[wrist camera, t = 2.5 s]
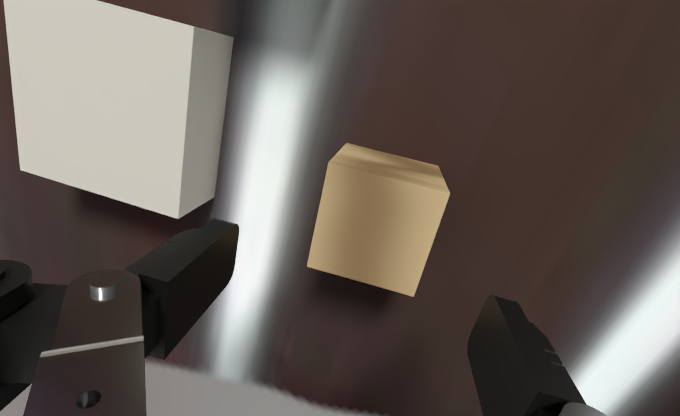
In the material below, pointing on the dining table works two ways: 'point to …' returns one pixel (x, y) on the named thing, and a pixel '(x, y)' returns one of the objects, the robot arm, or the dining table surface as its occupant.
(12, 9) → the cream block
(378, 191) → the oak cube
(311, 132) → the dining table surface
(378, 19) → the dining table surface
